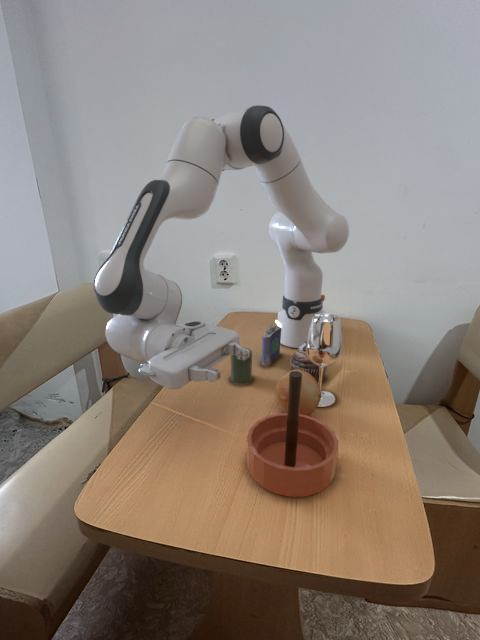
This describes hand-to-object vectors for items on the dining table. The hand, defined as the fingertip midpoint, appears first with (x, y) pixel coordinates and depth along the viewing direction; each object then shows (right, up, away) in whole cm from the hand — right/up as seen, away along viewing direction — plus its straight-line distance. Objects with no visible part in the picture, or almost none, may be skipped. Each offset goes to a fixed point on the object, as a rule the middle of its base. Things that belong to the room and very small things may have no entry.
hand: (233, 365), depth 65 cm
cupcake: (+18, -5, +31) cm, 36 cm away
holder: (+1, -5, +30) cm, 30 cm away
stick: (+10, -18, +1) cm, 20 cm away
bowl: (+10, -18, +1) cm, 21 cm away
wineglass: (+19, -9, +22) cm, 30 cm away
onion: (+13, -11, +17) cm, 24 cm away
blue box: (+9, -1, +40) cm, 41 cm away
